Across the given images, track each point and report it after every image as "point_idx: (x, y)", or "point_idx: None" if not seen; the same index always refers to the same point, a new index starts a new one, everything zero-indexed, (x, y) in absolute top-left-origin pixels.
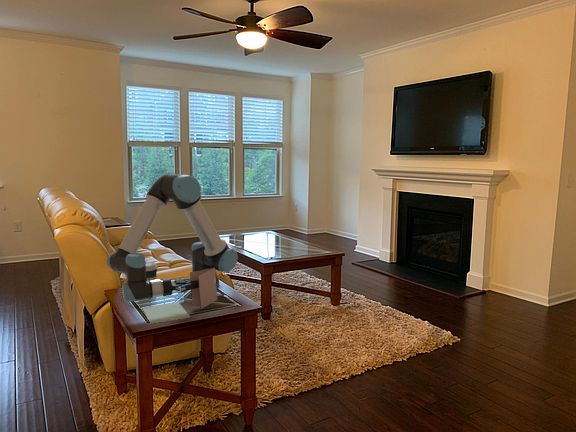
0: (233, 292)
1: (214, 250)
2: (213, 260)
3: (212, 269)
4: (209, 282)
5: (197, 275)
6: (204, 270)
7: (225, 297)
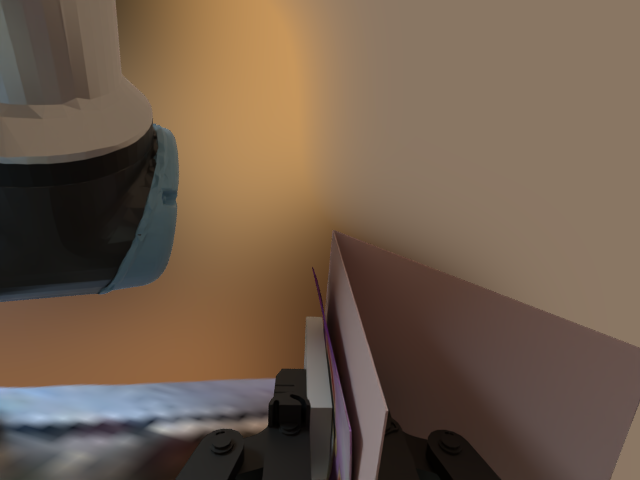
0: (161, 387)
1: (103, 110)
2: (82, 209)
3: (359, 245)
4: (394, 385)
5: (348, 383)
6: (342, 276)
7: (204, 436)
